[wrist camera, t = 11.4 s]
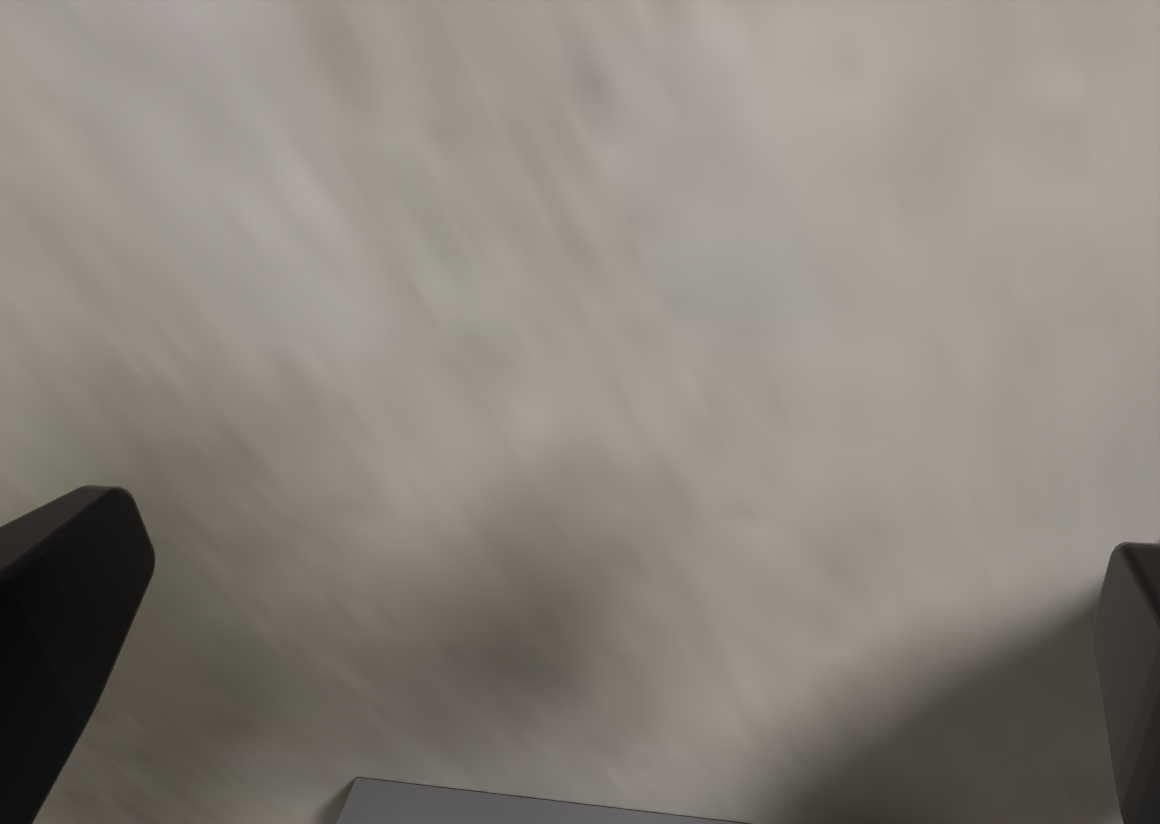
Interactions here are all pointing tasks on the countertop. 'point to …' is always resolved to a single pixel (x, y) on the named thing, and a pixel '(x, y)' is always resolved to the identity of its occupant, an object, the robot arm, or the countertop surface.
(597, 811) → the base
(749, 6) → the countertop surface
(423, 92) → the countertop surface
